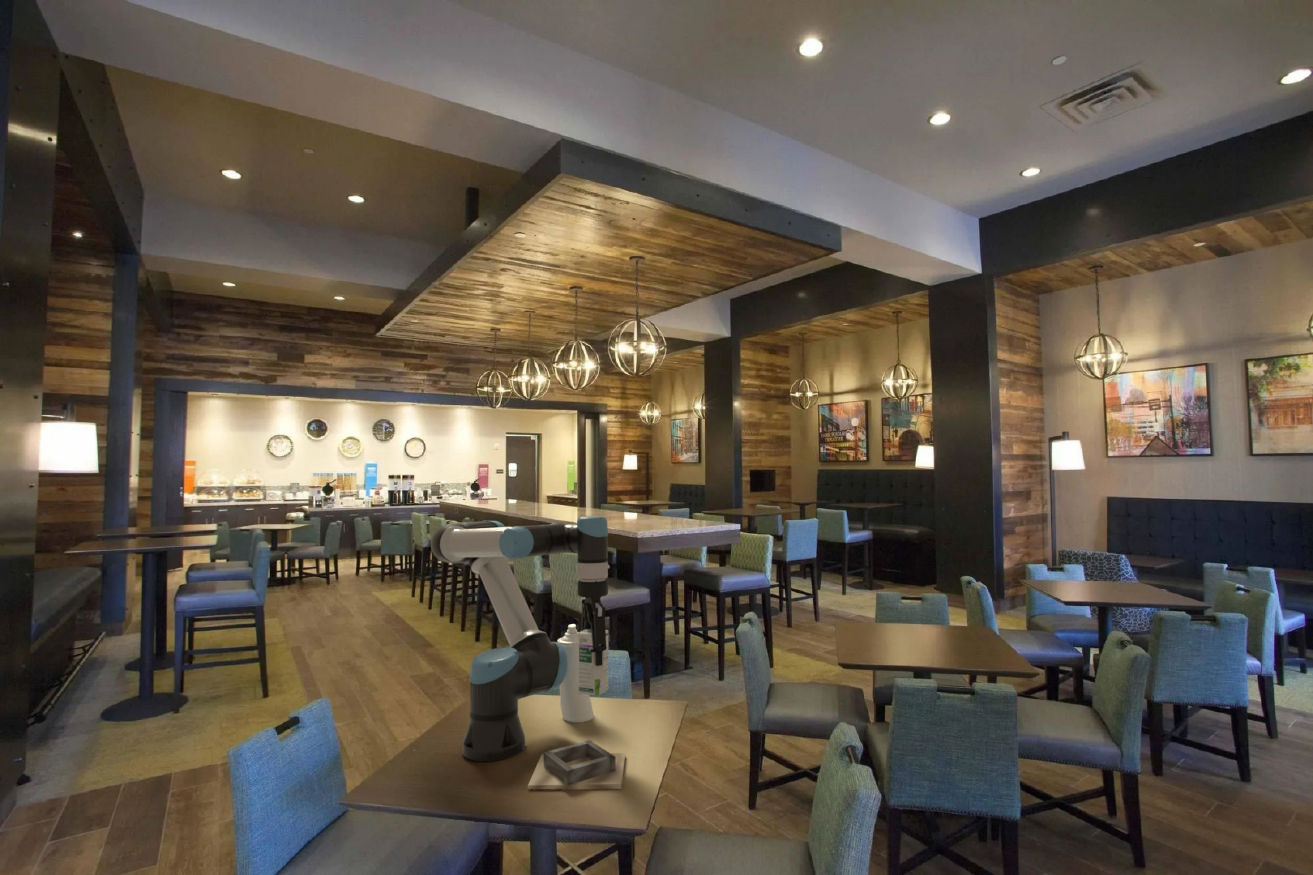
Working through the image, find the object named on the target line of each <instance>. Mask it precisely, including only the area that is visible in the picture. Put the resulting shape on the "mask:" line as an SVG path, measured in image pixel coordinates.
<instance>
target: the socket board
mask: <svg viewBox="0 0 1313 875" xmlns="http://www.w3.org/2000/svg"><path fill="white" fill-rule="evenodd" d="M625 762H626V753H625V752H616V753H615V752H612V753H611V752H609V751H607V750H606V749H604V748H603V747H602V746H600V745H598V744H596V743H595V742H594V741H592V740H591V739H589V740H584V741H581V742H578V743H577V742H576V743H574V744H570V745H567V746H563V747H559V748H554V749H552V750H548V751H545V752H543V753H542V754H541V755H540V758H539V759H538V761H537V764H536V767H535V768H534V771H533V773H532V775H531V778H530V780H529V781H528V784H527V790H528V789H529V790H528V791H531V790H530V789H534V790H533V791H536V790H535V789H562V790H561V791H566V790H567V791H571V790H574V791H575V790H620V789H621V790H622V785H623V780H624V778H623V777H624V770H625Z"/></svg>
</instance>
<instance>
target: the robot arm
mask: <svg viewBox="0 0 1313 875" xmlns="http://www.w3.org/2000/svg"><path fill="white" fill-rule="evenodd" d="M608 546H609V530H608V520H607V518H606V517H605V516H602V515H601V516H599V515H597V516H595V515H594V516H593V515H592V516H591V515H589V516H588V515H586V516H585V515H584V516H579V517H578V518H577V522H576V523H566V522H553V523H551V524H550V523H549V524H540V525H538V524H537V525H515V526H506V525H504V524H503V523H502V522H500V521H498V520H488V519H487V520H481V521H466V522H465V521H462V522H451V523H448V524H444V525H443V526H440V527H439V528H438V529H437V530H436V531H435V532H434V533H433V535H432V537H431V540H430V547H431V551H432V554H433V555H434V556H435V557H436V558H437V559H438V560H439V561H441V562H444V563H447V564H462V563H468V565H469V567H470V569H471V571H472V573H474V574H478V575H479V577H480V579H481V581H482V583H483V586H484V588H485V591H486V593H487V595H488V598H489V600H490V603H491V604H492V608H493V609H494V612H495V614H496V617H497V618H498V621H499V623H500V626H501V629H502V631H503V633H504V635H505V637H506V640H507V642H508V644H509V646H507V647H504V646H502V647H499V648H491V649H487V650H485V651H483V652H480V653H479V654H477V655H476V656H475V657H474V658H473V659H472V661H471V663H470V670H469V671H470V672H469V678H468V679H469V721H468V724H467V727H466V731H465V734H464V737H463V741H462V746H461V747H462V750H461V754H462V756H463V757H464V758H466V759H468V760H471V761H476V762H495V761H500V760H505V759H509V758H512V757H514V756H517V755H519V753H521V752H522V751H524V749H525V748H526V737H525V731H524V729H523V726H522V723H521V720H520V716H519V700H520V699H524V698H527V697H530V696H533V695H536V694H540V693H544V692H548V691H550V690H552V689H555V688H557V687H560V684H561V683H562V682H563V680H564V678H565V676H566V673H567V666H568V662H567V655H566V652H565V650H564V648H563V646H562V645H561V644H558V643H557V642H558V641H551V640H550V637H549V636H548V634H547V632H545V631H542V630H539V627H538V624H537V623H536V621H535V619H534V617H533V615H532V612H531V610H530V608H529V606H528V603H527V601H526V598H525V596H524V594H523V592H522V590H521V588H520V586H519V584H518V582H517V580H516V577H515V575H514V573H513V571H512V568H511V567H510V564H509V559H511V560H512V559H514V560H515V559H516V560H517V559H523V558H531V557H538V556H548V555H557V554H575V555H577V562H576V568H577V569H576V572H577V573H576V574H577V575H576V577H577V578H578V580H577V583H576V584H577V596H578V597H580V598H583V599H581V601H580V602H581V625H580V632H581V631H583V630H586V629H591V633H592V643H593V649H591V650H590V652H592V680H597V679H604V650H606V648H607V647H606V631H605V630H606V607H605V606H603V603H602V601H601V598H602V597H606V596H607V595H608V594H609V580H608V579H607V578H608V577H609V576H608V575H609V573H608V569H610V568H611V566H610V565H609V563H608V562H609V558H608V557H609V556H608V555H609V554H608V552H609V549H608V548H609V547H608Z"/></svg>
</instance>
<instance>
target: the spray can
mask: <svg viewBox="0 0 1313 875" xmlns="http://www.w3.org/2000/svg"><path fill="white" fill-rule="evenodd" d="M576 628H577V626H576V624H575V623H572V624H568V626H567V630H566V632H565V633H564V636H562V637H560V638H558V639H557V641H556V642H557V643H558V644H561V645H562V646H563V648H564V650H565V652H566V655H567V662H568V666H567V673H566V676H565V678H564V680H563V682H562V683H561V684H560V685H559V701H560V703H559V704H560V710H561V714H562V719H563V720H565V721H566V722H569V723H585V722H588V721H591V720H593V719H594V718H595V714H594V710H593V709H594V708H593V704H592V701H591V700H592V699H591V697H590V696H591V695H587V694H578V633H580V631H578V630H577V629H576Z"/></svg>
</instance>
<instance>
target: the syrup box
mask: <svg viewBox="0 0 1313 875" xmlns="http://www.w3.org/2000/svg"><path fill="white" fill-rule="evenodd" d="M605 631H606V647H607V648H606V650H604V679H597V680H592V652H590V650H591V649H593V643H592V633H591V629H586V630H583V631H581V630H580V631H579V633H578V694H587V695H589V696H596V697H599V696H600V695H602V694H604V693H605V692H607V691H608V690H609V686H610V685H609V684H610V683H609V630H607V629H605Z"/></svg>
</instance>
